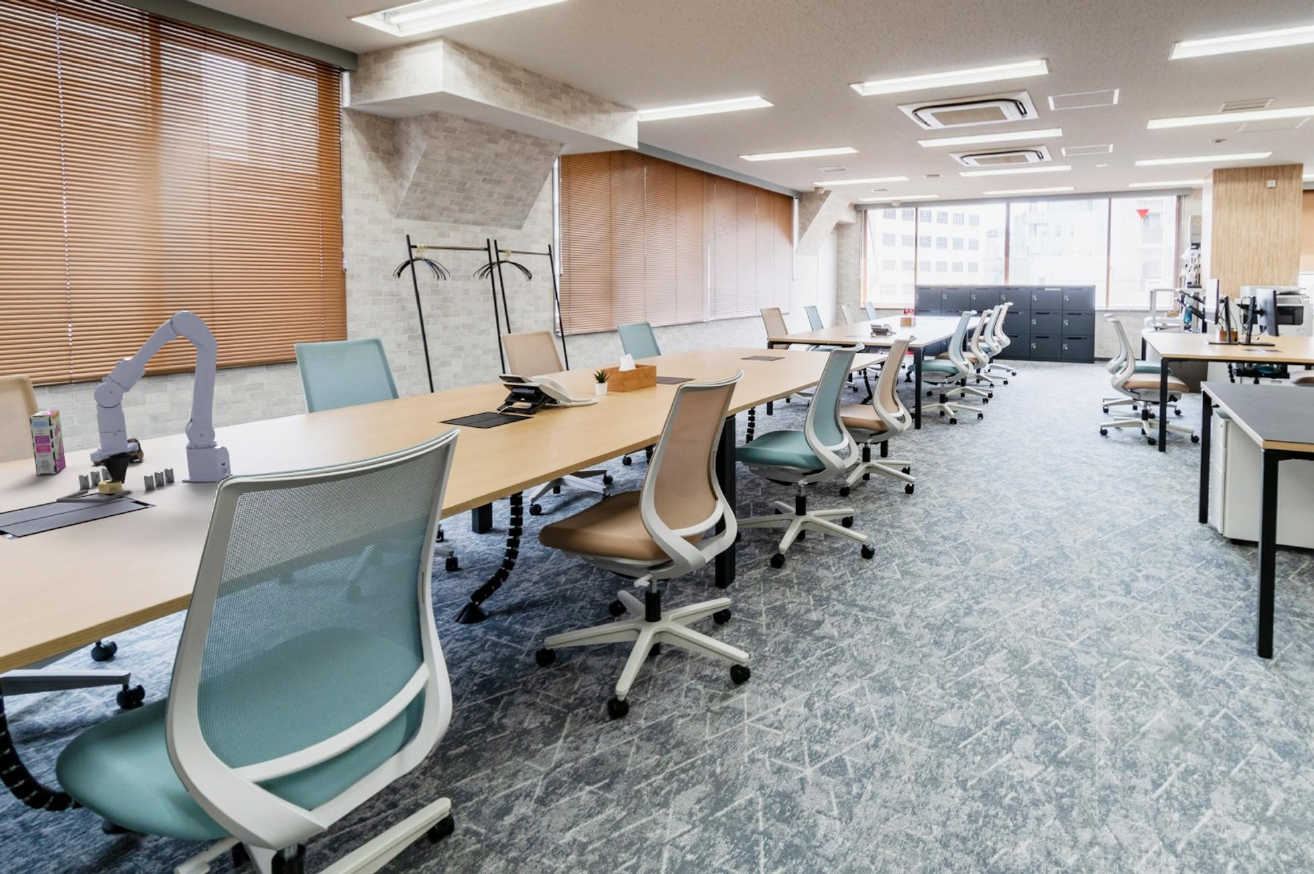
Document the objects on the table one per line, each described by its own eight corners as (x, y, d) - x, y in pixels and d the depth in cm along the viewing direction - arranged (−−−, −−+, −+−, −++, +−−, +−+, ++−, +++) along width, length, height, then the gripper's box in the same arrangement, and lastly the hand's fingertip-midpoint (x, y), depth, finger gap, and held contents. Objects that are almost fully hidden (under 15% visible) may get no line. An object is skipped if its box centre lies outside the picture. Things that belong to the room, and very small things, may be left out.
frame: (130, 492, 205) (130, 490, 204) (105, 502, 196) (104, 499, 196) (84, 492, 205) (84, 489, 205) (56, 501, 196) (56, 499, 196)
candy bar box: (58, 474, 225) (50, 415, 222) (36, 476, 223) (27, 416, 220) (67, 466, 235) (59, 409, 232) (46, 468, 233) (38, 410, 230)
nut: (123, 488, 209) (122, 478, 209) (120, 492, 205) (119, 483, 204) (101, 490, 207) (100, 480, 207) (98, 494, 203) (97, 485, 202)
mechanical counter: (131, 448, 234) (150, 434, 243) (84, 444, 233) (104, 430, 242) (135, 470, 237) (153, 456, 246) (88, 467, 236) (108, 453, 245)
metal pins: (176, 481, 217) (174, 468, 216) (151, 490, 207) (149, 476, 206) (106, 480, 218) (104, 467, 217) (78, 489, 208) (76, 476, 207)
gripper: (117, 425, 214) (123, 476, 216) (75, 435, 200) (82, 490, 202) (143, 426, 213) (149, 477, 216) (103, 436, 199) (110, 490, 202)
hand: (119, 483), depth 209 cm, fingers closed
